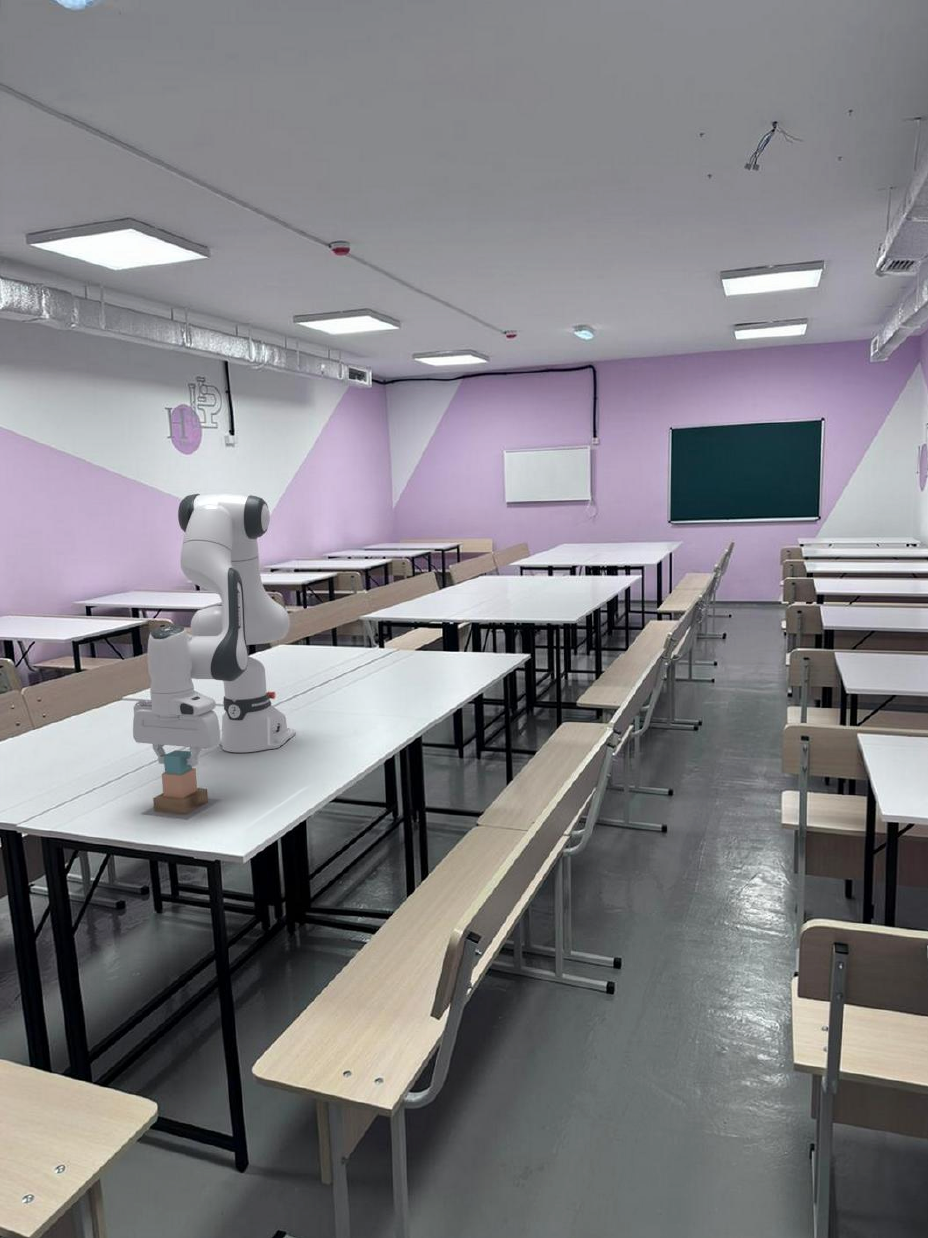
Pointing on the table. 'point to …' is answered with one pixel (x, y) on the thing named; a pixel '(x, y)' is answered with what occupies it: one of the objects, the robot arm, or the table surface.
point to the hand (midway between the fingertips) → (178, 764)
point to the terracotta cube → (179, 784)
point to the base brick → (180, 802)
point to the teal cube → (177, 762)
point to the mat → (179, 816)
